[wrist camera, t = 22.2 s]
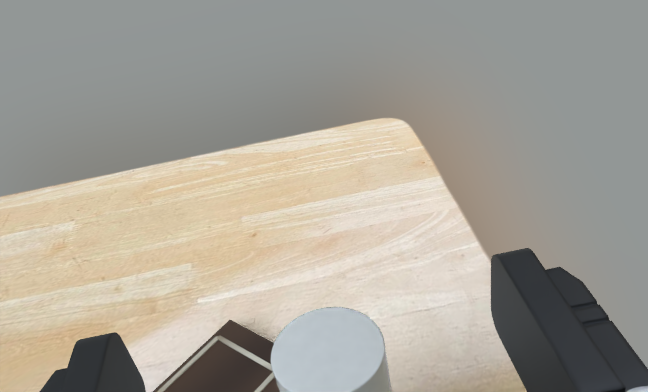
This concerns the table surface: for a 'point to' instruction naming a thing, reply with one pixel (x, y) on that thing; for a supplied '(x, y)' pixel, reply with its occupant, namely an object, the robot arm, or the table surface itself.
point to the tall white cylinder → (331, 353)
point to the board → (226, 364)
